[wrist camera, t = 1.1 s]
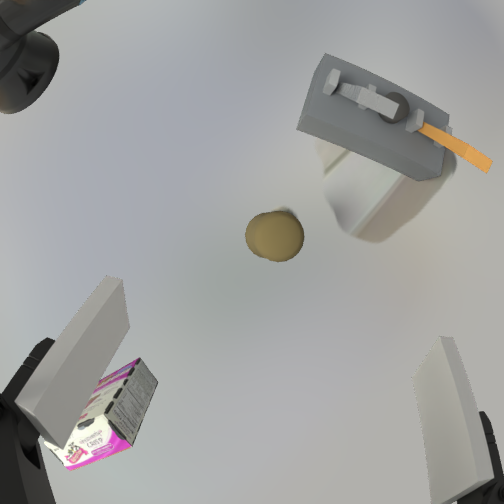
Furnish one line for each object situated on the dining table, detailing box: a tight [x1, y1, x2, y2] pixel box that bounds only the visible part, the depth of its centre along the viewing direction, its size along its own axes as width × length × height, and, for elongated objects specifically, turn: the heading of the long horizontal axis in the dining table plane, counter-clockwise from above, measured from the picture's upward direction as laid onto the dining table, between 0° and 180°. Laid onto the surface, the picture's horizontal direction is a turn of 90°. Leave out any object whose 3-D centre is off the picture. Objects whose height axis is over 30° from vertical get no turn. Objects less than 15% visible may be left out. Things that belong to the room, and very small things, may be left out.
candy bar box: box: [44, 358, 158, 471], centre depth 34 cm, size 11×5×16 cm, turn 122°
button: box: [378, 92, 410, 124], centre depth 35 cm, size 4×4×2 cm
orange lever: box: [417, 122, 492, 173], centre depth 31 cm, size 2×4×14 cm
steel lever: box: [335, 82, 399, 119], centre depth 30 cm, size 2×4×14 cm
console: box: [297, 53, 452, 181], centre depth 38 cm, size 10×20×9 cm, turn 72°
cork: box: [245, 211, 304, 262], centre depth 37 cm, size 6×6×11 cm
